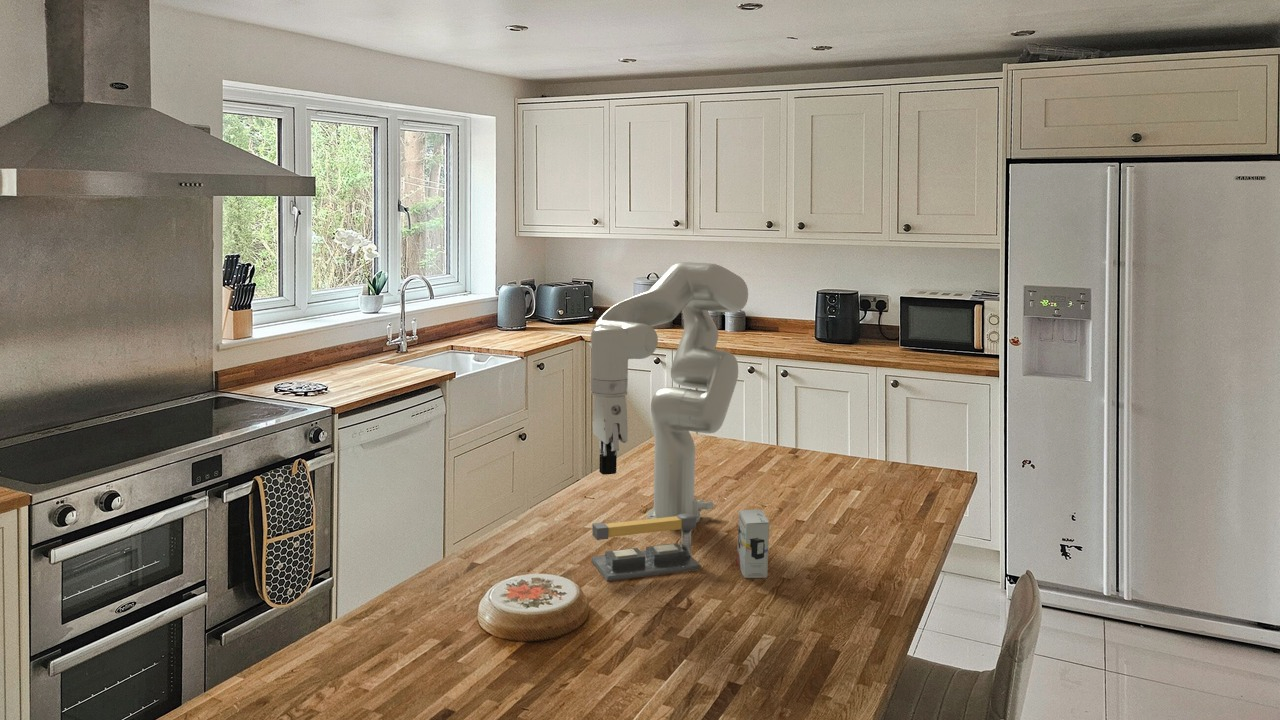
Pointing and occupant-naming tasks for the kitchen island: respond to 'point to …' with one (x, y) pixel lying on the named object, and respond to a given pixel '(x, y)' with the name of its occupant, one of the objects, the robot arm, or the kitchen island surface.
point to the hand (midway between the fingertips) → (607, 473)
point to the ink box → (753, 543)
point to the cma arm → (643, 526)
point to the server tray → (647, 560)
